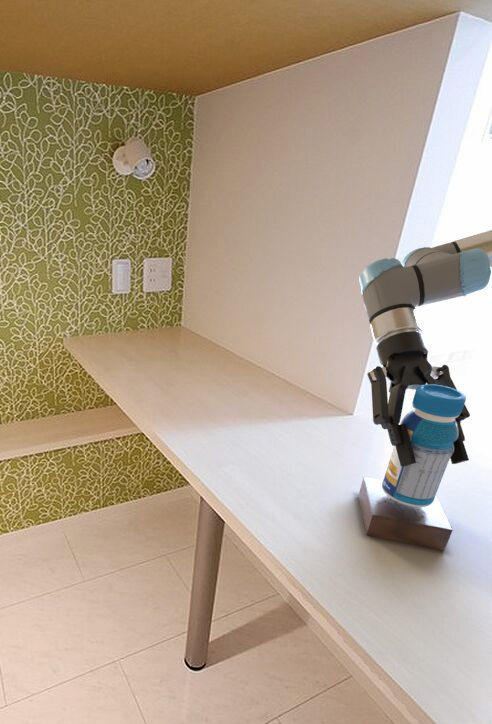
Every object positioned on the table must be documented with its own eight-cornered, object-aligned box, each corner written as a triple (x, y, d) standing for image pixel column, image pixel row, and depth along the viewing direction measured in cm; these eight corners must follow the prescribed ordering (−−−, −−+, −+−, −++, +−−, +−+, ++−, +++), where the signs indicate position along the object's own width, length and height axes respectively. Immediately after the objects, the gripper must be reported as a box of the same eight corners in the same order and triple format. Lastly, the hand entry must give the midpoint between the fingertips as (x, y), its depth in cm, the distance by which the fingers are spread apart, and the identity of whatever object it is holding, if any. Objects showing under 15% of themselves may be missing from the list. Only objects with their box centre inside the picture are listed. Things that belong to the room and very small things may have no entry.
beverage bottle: (412, 514, 72) (451, 406, 64) (369, 487, 79) (399, 386, 70) (444, 501, 76) (485, 396, 67) (400, 476, 82) (432, 378, 74)
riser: (426, 508, 83) (433, 489, 81) (444, 551, 73) (452, 530, 71) (358, 495, 87) (363, 477, 85) (366, 535, 76) (372, 514, 74)
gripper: (438, 348, 83) (475, 465, 75) (332, 350, 80) (360, 471, 73) (469, 328, 76) (514, 455, 68) (354, 329, 73) (387, 461, 66)
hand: (434, 463), depth 71 cm, fingers closed on beverage bottle, 8 cm apart
